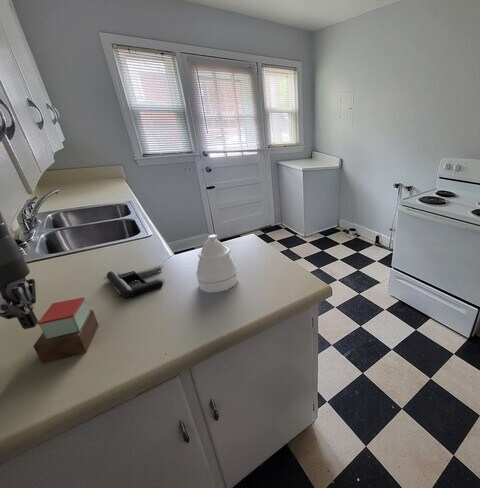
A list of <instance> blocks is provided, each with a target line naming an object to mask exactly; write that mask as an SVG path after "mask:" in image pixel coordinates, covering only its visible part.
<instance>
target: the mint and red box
mask: <svg viewBox="0 0 480 488" xmlns="http://www.w3.org/2000/svg"><path fill="white" fill-rule="evenodd" d="M89 310H90V309H89V307H88V305H87V302H86V300H85V296H83V297H77V298H73V299H67V300H61V301H58V302H53V303H51V304H50V306H49V307H48V308H47V310H46V311H45V312H44V314H43V315H42V316H41V318H40V319H39V320H38V324H37V325H38V326H39V328H40V329H41V331H42V333H44V335H45V337H46V339H49V338H53V337H57V336H61V335H65V334H70V333H74V332H78V331H80V330H81V328H82V326H83V324H84V322H85V320H86V318H87V316H88V314H89V313H90V312H89Z"/></svg>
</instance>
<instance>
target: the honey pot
mask: <svg viewBox="0 0 480 488" xmlns="http://www.w3.org/2000/svg"><path fill="white" fill-rule="evenodd" d="M230 253H231V249H230V248H229V247H228V246H225V245H223V243H222V242H221V241H220V240H219V239H218V235H217V234H209V235H208V239H206V240H205V241H204V243H203V246H202V248H201V250H200V251H199V252H198V254H197V256H198V258H199V260H198V262H197V270H196V272H195V273H196V279H197V284H198V288H199V287H200V288H199V290H201V291H202V290H203V291H202V292H205V291H206V292H205V293H219V292H220V291H221V292H224V290H225V291H228V290H229V288H230V289H231V288H233V287H235V286H236V285H237V284H238V282H239V275H238V271H237V265H236V263H235V262H234V260H233V257H232V256H231V255H230ZM237 281H238V282H237ZM236 283H237V284H236ZM235 284H236V285H235ZM232 286H233V287H232Z"/></svg>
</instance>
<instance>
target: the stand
mask: <svg viewBox="0 0 480 488" xmlns="http://www.w3.org/2000/svg"><path fill="white" fill-rule="evenodd" d="M89 312H90V313H89V314H88V316H87V318H86V320H85V322H84V324H83V326H82V328H81V330H80V331H78V332H74V333H70V334H65V335H61V336H57V337H53V338H49V339H46V337H45V335H44V333H43V332H42V333H41V334H40V336H39V337H38V339H37V340H36V341H35V343H34V344H33V348H34V351H35V352H36V354H37V356H38V358H39V360H40V362H41V363H42V364H46V363H47V364H48V363H51V362H55V361H59V360H63V359H66V358H70V357H75V356H78V355H81V354H85V353H87V352H88V350H89V348H90V346H91V343H92V341H93V338H94V336H95V334H96V332H97V330H98V328H99V326H100V325H99V322H98V319H97V317H96V314H95V312H94V309H89Z"/></svg>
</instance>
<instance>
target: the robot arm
mask: <svg viewBox="0 0 480 488" xmlns="http://www.w3.org/2000/svg"><path fill="white" fill-rule="evenodd" d="M30 272H31V270H30V267H29V266H28V263H27V262H26V260H25V258H24V256H23V253H22V251H21V249H20V247H19V246H18V243H17V242H16V240H15V239H14V238H13V237H12V234H11V233H10V231H9V229H8V227H7V224H6V222H5V221H4V219H3V216H2V212H1V211H0V317H1V318H2V319H3V318H4V319H5V320H13V319H15V318H16V319H17V321H18V322H19V324H20V325H21V328H22V329H23V330H29V329H32V328H35V327H37V325H38V322H39V320H38V318H37V317H36V314H35V313H34V311H33V310H34V304H36V303H37V293H36V280H35V279H34V278H29V279H28V278H27V276H29V275H30Z"/></svg>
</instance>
